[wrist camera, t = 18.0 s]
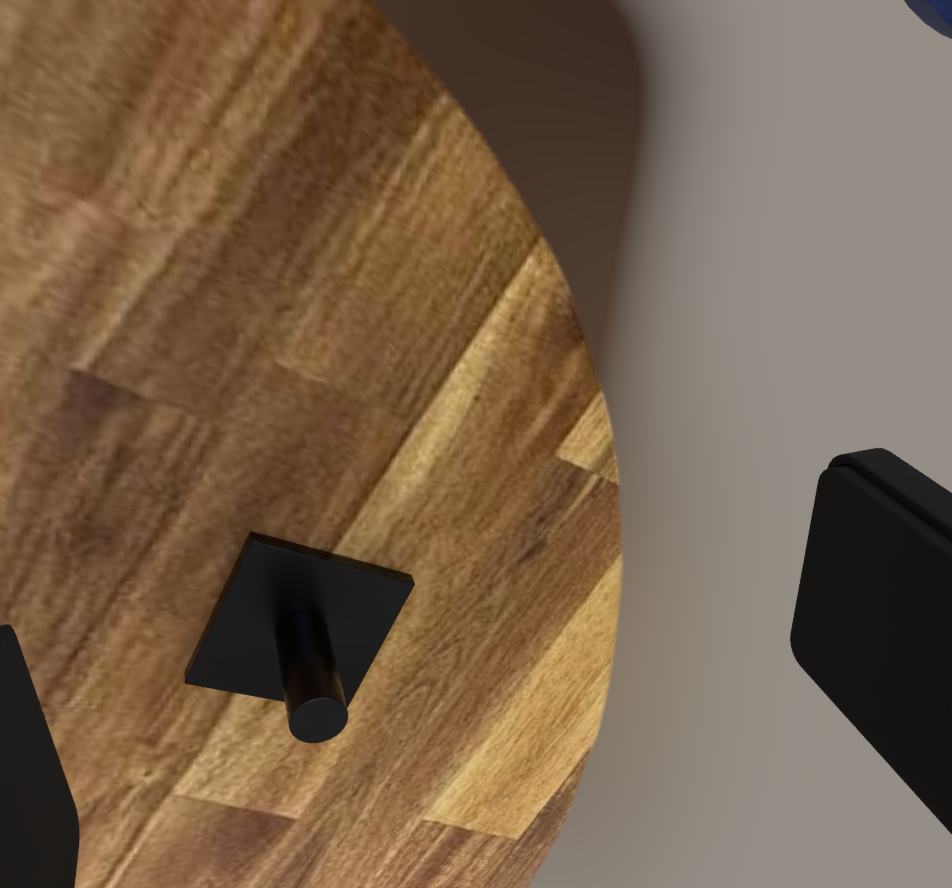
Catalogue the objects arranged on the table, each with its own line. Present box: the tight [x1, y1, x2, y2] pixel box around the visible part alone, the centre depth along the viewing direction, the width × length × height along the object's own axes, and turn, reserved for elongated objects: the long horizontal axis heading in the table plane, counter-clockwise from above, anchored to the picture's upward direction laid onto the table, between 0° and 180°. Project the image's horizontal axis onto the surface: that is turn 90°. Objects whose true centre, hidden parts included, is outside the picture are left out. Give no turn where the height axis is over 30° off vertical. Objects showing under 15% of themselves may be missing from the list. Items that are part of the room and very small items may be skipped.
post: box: [185, 532, 415, 743], centre depth 39 cm, size 8×8×6 cm
